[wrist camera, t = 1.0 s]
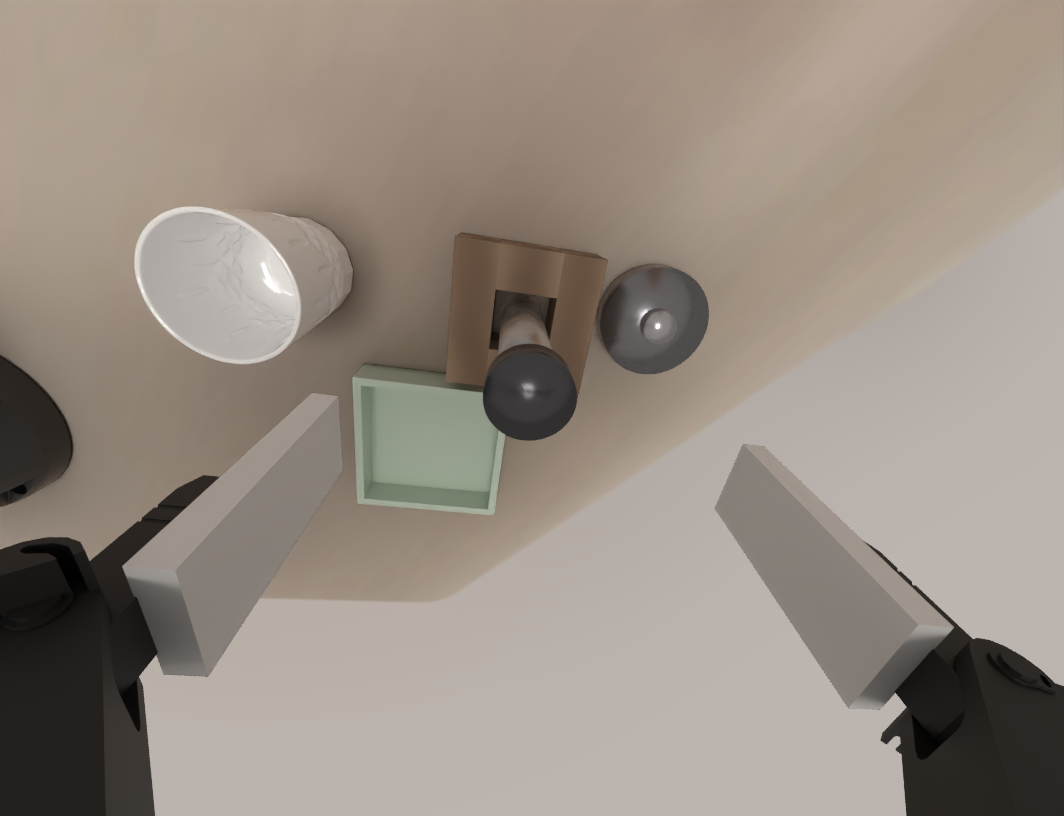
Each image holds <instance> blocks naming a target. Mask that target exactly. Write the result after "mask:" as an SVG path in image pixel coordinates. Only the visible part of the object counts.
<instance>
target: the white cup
mask: <svg viewBox="0 0 1064 816" xmlns="http://www.w3.org/2000/svg"><path fill="white" fill-rule="evenodd" d="M134 267H135V275H136V280H137V283H138V286H139V289H140V292H141V294H142V296H143V299H144V301H145V302H146V304H147V306H148V308H149V309H150V311H151V312H152V314H153V315H154V316H155V318H156V319H157V320H158V321H159V323H160V324H161V325H162V326H163V327H164V328H165V329H166V330H167V331H168V332H169V333H170V334H171V335H172V336H174V337H175V338H176V339H177V340H179V341H180V342H181V343H183V344H184V345H186V346H187V347H189V348H190V349H192V350H194V351H196V352H198V353H200V354H202V355H204V356H206V357H209V358H212V359H215V360H218V361H222V362H226V363H233V364H253V363H258V362H262V361H266V360H268V359H271V358H273V357H275V356H276V355H278V354H280V353H281V352H282V351H284V350H285V349H286V348H287V347H289V346H290V345H291V344H293V343H294V342H295V341H297V340H298V339H299V338H301V337H302V336H304V335H305V334H306V333H308V332H309V331H310V330H312V329H313V328H314V327H316V326H317V325H318V324H319V323H320V322H321V321H323V320H324V319H325V318H326V317H327V316H329V315H330V314H331V313H332V312H333V311H334V310H335V309H336V308H338V307H339V306H340V305H341V304H342V302H343V301H344V300H345V298H346V297H347V295H348V294H349V293H350V291H351V286H352V278H353V268H352V265H351V262H350V259H349V256H348V253H347V250H346V248H345V247H344V246H343V244H342V243H341V242H340V241H339V240H338V238H337V237H336V236H335V235H334V234H333V232H332V231H331V230H329V229H328V228H326V227H324V226H322V225H320V224H318V223H317V222H315V221H313V220H311V219H309V218H301V217H289V216H286V215H283V214H279V213H270V212H260V211H253V210H236V209H223V208H210V207H197V206H189V207H180V208H175V209H172V210H169V211H166V212H164V213H162V214H160V215H158V216H157V217H155V218H154V219H153V220H152V221H151V222H150V223H149V224H148V225H147V226H146V227H145V228H144V230H143V231H142V233H141V235H140V237H139V239H138V242H137V245H136V249H135V256H134Z"/></svg>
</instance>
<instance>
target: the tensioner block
mask: <svg viewBox="0 0 1064 816" xmlns="http://www.w3.org/2000/svg"><path fill="white" fill-rule="evenodd" d="M607 263H608V260H606V259H604V258H602V257H600V256H599V255H597V254H591V253H585V252H579V251H573V250H566V249H560V248H554V247H548V246H542V245H535V244H529V243H523V242H517V241H511V240H504V239H498V238H492V237H486V236H480V235H474V234H467V233H460V234H458V235H456V236H455V244H454V259H453V275H452V290H451V305H450V320H449V335H448V350H447V365H446V380H445V381H446V382H455V383H463V384H471V385H479V386H484V383H485V377H486V373H487V370H488V368H489V366H490V364H491V363H492V362H493V360H494V359H495V358H496V357H497V356H498V350H499V337H500V335H498V334H491V331H492V322H493V313H494V304H495V295H496V290H503V291H510V292H517V293H523V294H530V295H537V296H544V297H550V301H549V307H548V313H547V318H546V324H545V327H546V331H547V334H548V337H549V341H550V344H551V347H552V350H554V351H555V352H557V353H558V354H559V355H560V356H561V357H562V358H563V359H564V360H565V362H566V363H567V365H568V367H569V369H570V372H571V374H572V377H573V380H574V383H575V386H576V390H577V397H578V394H579V389H580V385H581V380H582V376H583V371H584V367H585V362H586V358H587V353H588V349H589V344H590V340H591V335H592V331H593V326H594V322H595V317H596V313H597V308H598V304H599V299H600V294H601V290H602V285H603V281H604V276H605V272H606V267H607Z"/></svg>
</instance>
